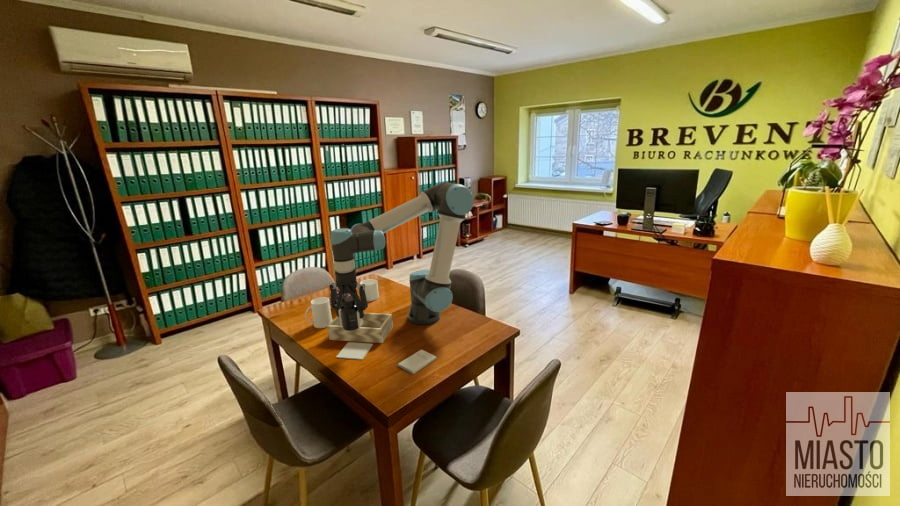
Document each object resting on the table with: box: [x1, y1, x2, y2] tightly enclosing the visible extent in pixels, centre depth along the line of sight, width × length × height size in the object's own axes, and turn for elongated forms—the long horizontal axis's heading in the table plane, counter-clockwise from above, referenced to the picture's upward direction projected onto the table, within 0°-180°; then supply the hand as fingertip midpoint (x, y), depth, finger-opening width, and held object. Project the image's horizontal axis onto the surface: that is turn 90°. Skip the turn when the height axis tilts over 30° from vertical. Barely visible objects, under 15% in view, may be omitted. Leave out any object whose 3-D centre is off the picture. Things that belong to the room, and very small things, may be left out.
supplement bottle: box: [341, 297, 359, 331], centre depth 140 cm, size 7×7×12 cm
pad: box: [335, 341, 374, 361], centre depth 145 cm, size 11×11×1 cm
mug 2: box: [359, 278, 380, 302], centre depth 195 cm, size 12×9×9 cm
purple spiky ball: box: [328, 287, 352, 306], centre depth 182 cm, size 12×12×12 cm
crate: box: [326, 312, 394, 344], centre depth 158 cm, size 24×14×6 cm, turn 80°
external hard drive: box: [397, 349, 437, 375], centre depth 136 cm, size 2×8×12 cm
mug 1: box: [304, 296, 333, 329], centre depth 166 cm, size 12×8×12 cm
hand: (351, 324), depth 142 cm, fingers closed on supplement bottle, 7 cm apart
